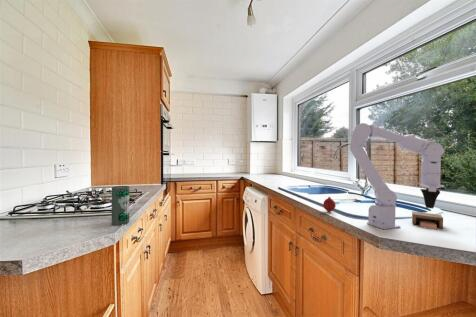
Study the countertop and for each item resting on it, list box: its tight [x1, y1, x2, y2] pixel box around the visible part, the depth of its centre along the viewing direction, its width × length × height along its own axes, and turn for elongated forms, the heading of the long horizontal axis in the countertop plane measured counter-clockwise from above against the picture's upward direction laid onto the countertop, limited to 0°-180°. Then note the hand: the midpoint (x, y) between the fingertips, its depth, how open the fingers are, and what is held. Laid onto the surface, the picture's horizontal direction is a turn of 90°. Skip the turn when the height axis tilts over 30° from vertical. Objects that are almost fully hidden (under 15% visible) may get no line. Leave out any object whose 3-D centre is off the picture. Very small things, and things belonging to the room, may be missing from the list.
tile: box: [418, 220, 438, 230], centre depth 91 cm, size 6×5×2 cm
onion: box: [322, 196, 337, 213], centre depth 112 cm, size 6×6×8 cm
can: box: [111, 185, 130, 226], centre depth 90 cm, size 6×6×15 cm
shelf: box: [411, 211, 444, 230], centre depth 93 cm, size 6×10×4 cm, turn 54°
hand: (429, 207), depth 85 cm, fingers closed
